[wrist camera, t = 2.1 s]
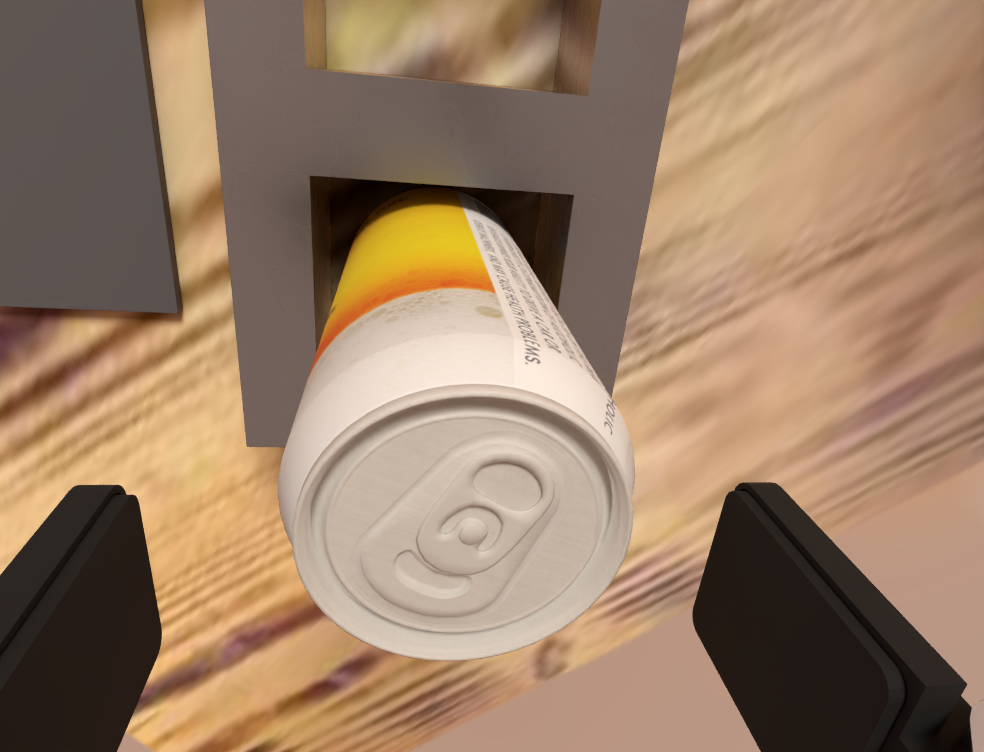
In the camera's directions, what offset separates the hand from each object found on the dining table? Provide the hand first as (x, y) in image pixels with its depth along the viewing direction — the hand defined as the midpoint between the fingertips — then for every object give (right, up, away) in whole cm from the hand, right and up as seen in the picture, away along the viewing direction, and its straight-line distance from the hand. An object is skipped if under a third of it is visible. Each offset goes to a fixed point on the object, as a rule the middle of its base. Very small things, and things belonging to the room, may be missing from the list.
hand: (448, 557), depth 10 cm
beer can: (-1, +7, +13) cm, 15 cm away
